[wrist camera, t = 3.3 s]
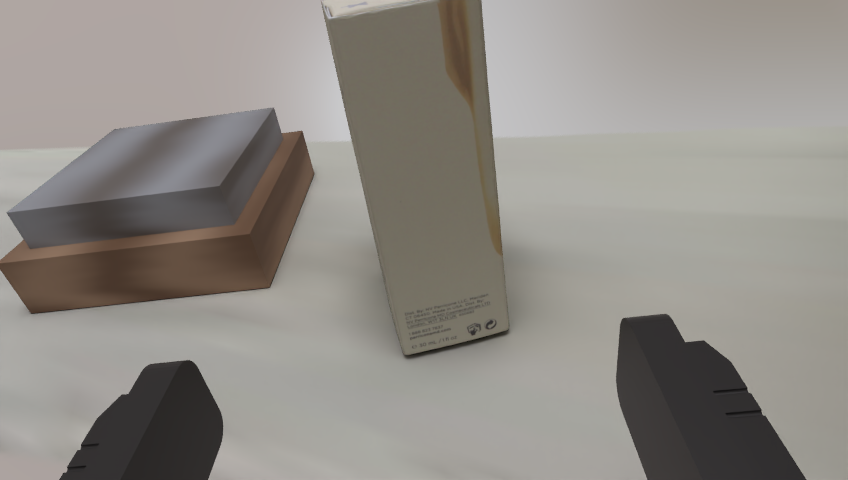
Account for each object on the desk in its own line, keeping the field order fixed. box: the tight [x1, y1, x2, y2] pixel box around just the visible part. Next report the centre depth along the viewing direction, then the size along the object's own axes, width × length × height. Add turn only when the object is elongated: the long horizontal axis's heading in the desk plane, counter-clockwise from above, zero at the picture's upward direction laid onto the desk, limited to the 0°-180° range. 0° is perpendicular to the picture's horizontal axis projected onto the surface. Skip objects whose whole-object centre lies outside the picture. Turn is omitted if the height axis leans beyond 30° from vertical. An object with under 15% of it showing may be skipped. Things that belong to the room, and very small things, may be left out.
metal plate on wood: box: [0, 108, 314, 313], centre depth 30 cm, size 12×12×5 cm
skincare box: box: [321, 0, 509, 355], centre depth 20 cm, size 6×4×12 cm
